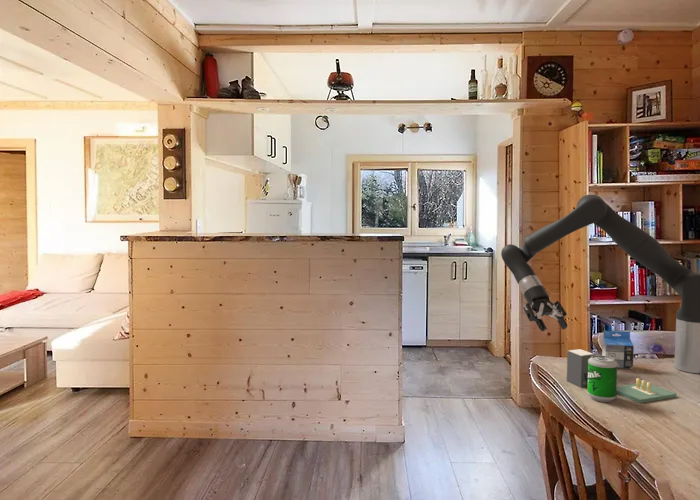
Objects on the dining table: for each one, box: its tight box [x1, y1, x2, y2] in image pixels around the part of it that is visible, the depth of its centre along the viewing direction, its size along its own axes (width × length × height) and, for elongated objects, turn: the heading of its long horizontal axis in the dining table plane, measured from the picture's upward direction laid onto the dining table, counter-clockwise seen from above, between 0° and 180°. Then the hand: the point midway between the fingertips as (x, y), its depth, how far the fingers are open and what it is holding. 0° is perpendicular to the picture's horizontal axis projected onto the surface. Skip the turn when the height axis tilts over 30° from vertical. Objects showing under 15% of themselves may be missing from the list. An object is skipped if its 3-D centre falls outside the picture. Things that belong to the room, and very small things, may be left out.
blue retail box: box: [601, 330, 635, 370], centre depth 166 cm, size 9×4×12 cm, turn 77°
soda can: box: [586, 354, 618, 403], centre depth 138 cm, size 8×8×12 cm
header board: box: [616, 377, 678, 404], centre depth 141 cm, size 14×10×4 cm
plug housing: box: [566, 348, 595, 389], centre depth 150 cm, size 5×6×10 cm
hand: (554, 329), depth 160 cm, fingers open, 8 cm apart
